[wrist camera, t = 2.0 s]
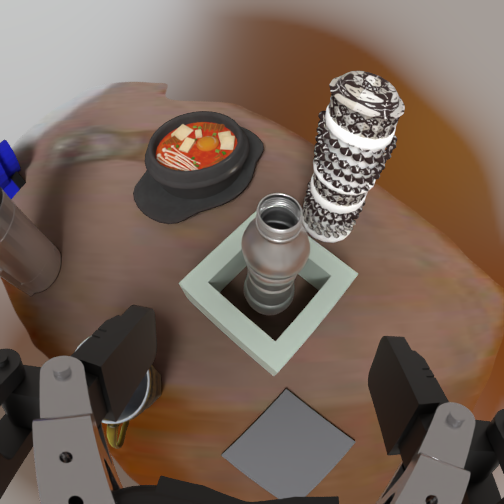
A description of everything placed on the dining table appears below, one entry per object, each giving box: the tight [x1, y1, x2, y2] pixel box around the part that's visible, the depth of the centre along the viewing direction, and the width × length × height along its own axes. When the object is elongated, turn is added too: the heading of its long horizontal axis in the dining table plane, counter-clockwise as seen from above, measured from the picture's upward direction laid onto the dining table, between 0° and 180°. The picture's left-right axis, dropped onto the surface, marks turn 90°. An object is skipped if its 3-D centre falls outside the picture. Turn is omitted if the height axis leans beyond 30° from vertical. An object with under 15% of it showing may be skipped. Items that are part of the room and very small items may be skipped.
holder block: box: [179, 211, 358, 376], centre depth 39 cm, size 16×16×6 cm
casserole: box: [133, 111, 264, 224], centre depth 48 cm, size 25×19×8 cm
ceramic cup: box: [75, 336, 161, 449], centre depth 30 cm, size 13×10×10 cm
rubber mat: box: [221, 389, 355, 499], centre depth 31 cm, size 12×12×1 cm
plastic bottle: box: [241, 193, 310, 315], centre depth 32 cm, size 6×7×20 cm
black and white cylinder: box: [302, 71, 405, 243], centre depth 36 cm, size 9×9×25 cm
